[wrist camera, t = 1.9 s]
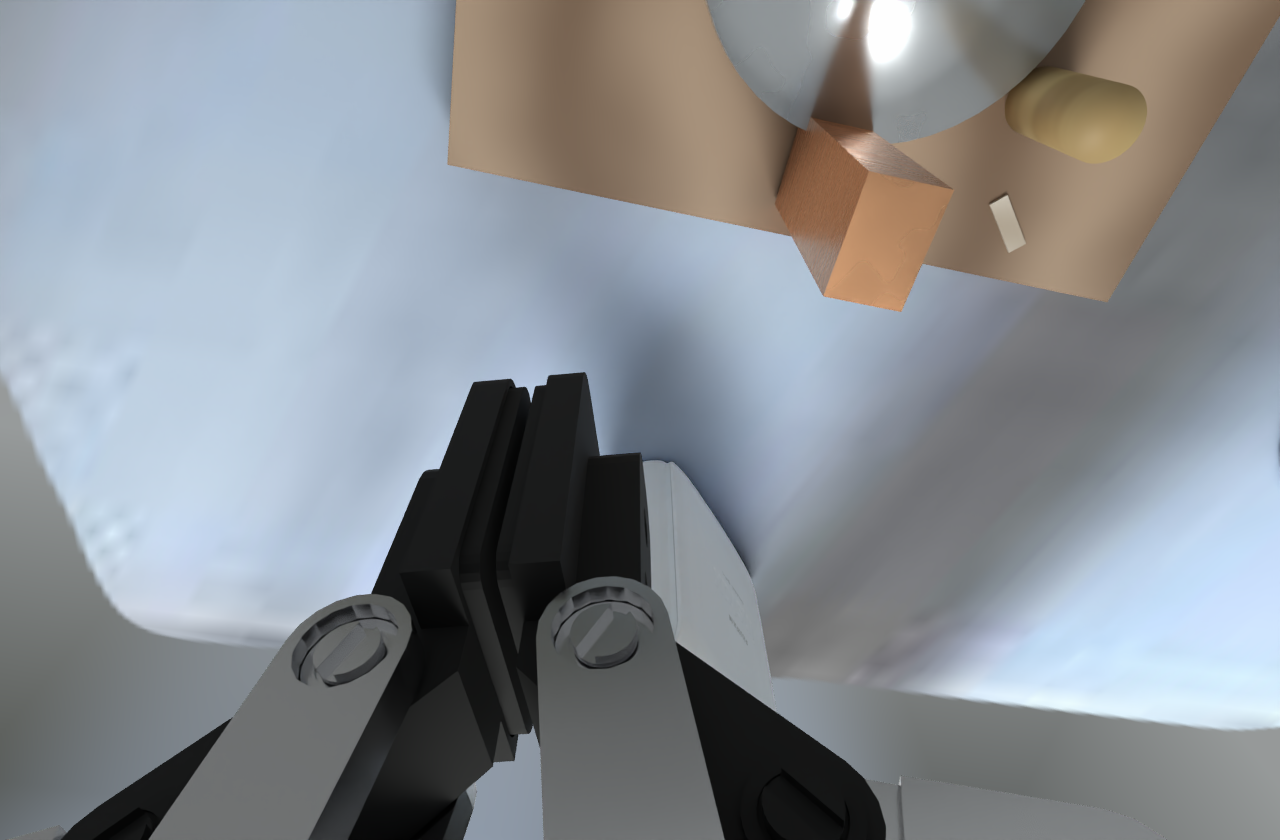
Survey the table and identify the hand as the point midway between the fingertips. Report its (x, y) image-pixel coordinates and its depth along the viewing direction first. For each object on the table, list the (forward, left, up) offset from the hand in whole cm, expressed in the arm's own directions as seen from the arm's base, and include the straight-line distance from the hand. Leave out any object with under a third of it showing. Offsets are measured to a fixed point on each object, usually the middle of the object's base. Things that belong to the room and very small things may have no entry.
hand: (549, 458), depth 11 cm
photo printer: (-7, +16, -18) cm, 25 cm away
